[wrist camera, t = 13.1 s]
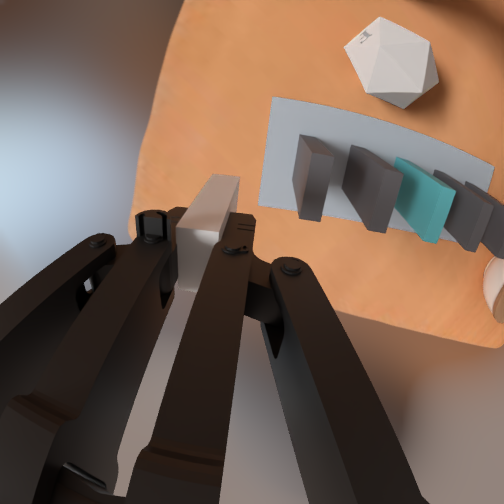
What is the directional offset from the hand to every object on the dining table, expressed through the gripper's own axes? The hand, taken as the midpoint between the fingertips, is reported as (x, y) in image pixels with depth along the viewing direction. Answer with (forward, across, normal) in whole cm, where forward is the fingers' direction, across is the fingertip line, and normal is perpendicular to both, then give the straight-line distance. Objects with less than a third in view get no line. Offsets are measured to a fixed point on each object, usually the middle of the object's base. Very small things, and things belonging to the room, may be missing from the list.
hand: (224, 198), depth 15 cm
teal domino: (+14, -17, 0) cm, 22 cm away
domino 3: (+14, -22, 0) cm, 26 cm away
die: (+15, -12, -12) cm, 23 cm away
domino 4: (+14, -28, 0) cm, 31 cm away
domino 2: (+14, -11, 0) cm, 18 cm away
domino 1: (+14, -6, 0) cm, 15 cm away
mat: (+15, -17, 0) cm, 22 cm away
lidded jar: (+15, -42, +9) cm, 46 cm away
